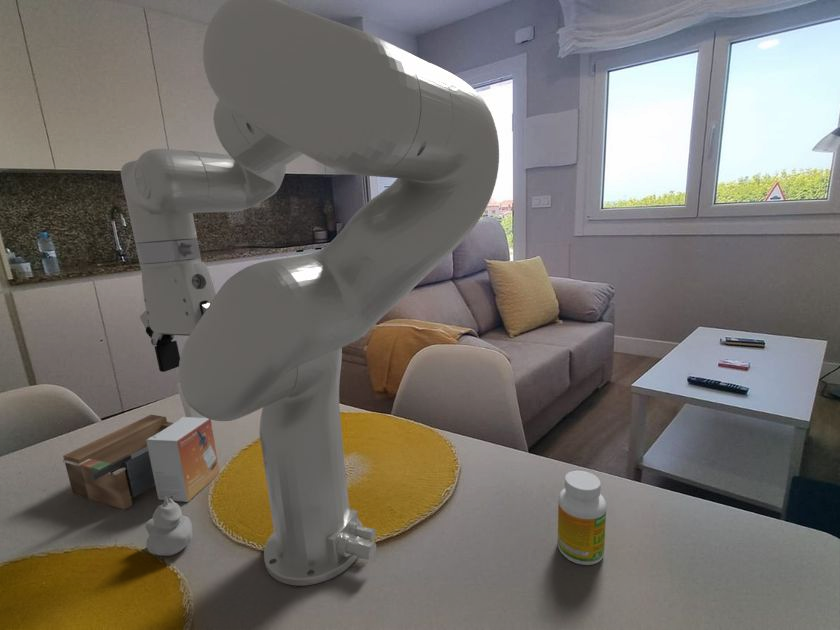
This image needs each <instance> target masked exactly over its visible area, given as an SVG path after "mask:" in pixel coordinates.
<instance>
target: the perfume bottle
mask: <svg viewBox="0 0 840 630" xmlns="http://www.w3.org/2000/svg"><path fill="white" fill-rule="evenodd" d="M176 386H177V391H178V394H179V398H180V402H181V405H182V407H183V411H184V414H185V416H184V417H194V418H205V417H204V416H202V415H200V414H199V413H197V412H196V411H195V410H194V409H193V408H192V407H191V406H190V405H189V404H188V402H187V401H186V399H185V397H184V395H183V393H182V390H181V386H180V382H177V383H176Z"/></svg>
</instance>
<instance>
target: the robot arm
mask: <svg viewBox="0 0 840 630" xmlns="http://www.w3.org/2000/svg"><path fill="white" fill-rule="evenodd" d="M202 48H203V49H202V55H203V56H202V60H203V65H204V66H203V67H204V72H205V75H206V78H207V81H208V84H209V86H210V88H211V89H212V91H213V92H214V94H215V96H216V97H217V99H218V101H217V102H216V104H215V107H214V111H213V125H214V129H215V133H216V137H217V139H218V141H219V142H220V144H221V146H222V147H223V148H224V149H223V150H225V151H226V153H228V154H224V153H215V152H208V151H194V150H183V149H171V148H152V149H149V150H147V151H145V152H143V153H142V154H140V156H139V157H138V159H135V160H131V161H128V162H126V163H124V164H123V166H122V167H121V169H120V177H121V183H122V187H123V191H124V196H125V201H126V205H127V212H128V215H129V219H130V225H131V228H132V229H131V230H132V234H133V238H134V242H135V248H136V253H137V257H138V261H139V262H138V263H139V266H140V269H141V283H142V293H143V300H144V306H145V311H143V312H142V314H141V315H140V317H139V318H140V320H141V322H142V325H143V326H144V328H145V332H146V334H147V335H148V337H149V338H150V343H151V345H152V346H153V347H154V352H155V355H156V356H155V357H156V360H157V365H158V370H159V372H163V373H165V372H168V371H171V370H173V369H177V368H178V381H179V382H180V386H181V390H182V393H183V395H184V397H185V399H186V401H187V402H188V404H189V405H190V406H191V407H192V408H193V409H194V410H195V411H196V412H197V413H199V414H200V415H202V416H204V417H205V418H208V419H211V421H214V422H215V421H216V422H229V421H230V422H231V421H235V420H238V419H241V418H243V417H245V416H248V415H250V414H252V413H254V412H256V411H259V410H261V409H262V410H261V415H260V420H259V440H260V447H261V453H262V460H263V467H264V472H265V479H266V480H265V482H266V488H267V494H268V495H267V496H268V501H269V507H270V513H271V521H272V528H273V532H272V533H271V535H270V536H269V537H268V539H267V540H266V543H265V546H264V548H263V549H264V550H263V558H264V559H263V560H264V564H265V565H264V566H265V568H266V571H267V572H268V574H269V575H270V576H271V577H272V578H273V579H275V580H276V581H278V582H280V583H282V584H285V585H286V584H287V585H291V586H311V585H316V584H319V583H320V584H321V583H323V582H326V581H328V580H329V581H330V580H331V579H333V578H335V577H337V576H338V575H340V574H342V573H344V571H346V570H347V569H348V568H349V567H351V566H352V565H353V564H354V562H355V561H357V560H358V558H359V559H362V560H366V561H373V559H374V558H375V556H376V552H377V543H376V542H374V541H375V538H376V537H377V536H376V535H377V530H376V529H375V528H373V527H372V528H371V527H367V526H363V523H362V522H361V520H360V519H359V518H358V510H357V509H351V508H350V501H349V493H348V482H347V474H346V472H347V471H346V462H345V453H344V443H343V434H342V433H343V431H342V423H341V422H342V421H341V411H340V410H341V409H340V380H341V379H340V378H341V369H342V358H343V357H342V356H343V353H342V352H343V351H342V349H343V348H344V347H346V346H348V345H350V344H352V343H354V342H357V341H358V340H359V339H361V338H362V337H363V336H365V335H366V334H367V333H368V332H369V331H371V329H372V328H373V327H374V326H376V324H377V323H378V322H379V321H380V320H381V319H382V318H383V317H384V316H386V315H387V314H388V312H390V311H391V310H392V309H393V308H394V307H396V305H397V304H399V302H401V301H402V300H403V299H404V298H406V297H407V295H409V294H410V292H412V290H414V288H415V287H416V286H417V285H418V284H420V282H421V281H422V280H424V279H425V277H427V276H428V275H429V274H430V273H431V272H432V271H433V270H435V269H436V267H438V266H439V265H440V264H441V263H442V262H443V261H444V260H445V259H447V258H448V256H449V255H451V254H452V253H453V252H454V251H455V249H457V248H458V247H459V246H460V245H461V243H462V242H463V241H464V240H465V239H466V238H467V237H468V236H469V234H470V233H471V232H472V231H473V229H474V228H475V227H476V225H477V224H478V223H479V221H480V220H481V218H482V216H483V215H484V213H485V210H486V209H487V207H488V205H489V202H490V201H491V199H492V195H493V193H494V190H495V186H496V184H497V183H496V182H497V179H498V174H499V165H500V145H499V136H498V130H497V127H496V123H495V120H494V118H493V115H492V112H491V111H490V109H489V107H488V105H487V103H486V102H485V100H484V99H483V97H482V96H481V95H480V94H479V92H477V91H476V90H475V89H474V88H473V87H472V86H471V85H470V84H468V83H467V82H466V81H465V80H463V79H461V78H460V77H459V76H457V75H455V74H453V73H452V72H449V71H448V70H446V69H444V68H442V67H440V66H437V65H436V64H434V63H431V62H430V61H427V60H426V59H425V60H424V59H422V58H420V57H418V56H416V55H414V54H412V53H410V52H409V51H407V50H404V49H402V48H400V47H398V46H397V45H395V44H393V43H390V42H388V41H385V40H384V39H382V38H379V37H377V36H376V35H375V36H374V35H373V34H370V33H368V32H365V31H362V30H360V29H358V28H354V27H353V26H349V25H346V24H344V23H341V22H338V21H335V20H332V19H331V18H327V17H324V16H321V15H318V14H316V13H314V12H311V11H307V10H306V9H305V10H304V9H302V8H299V7H296V6H294V5H291V4H288V3H287V2H285V1H282V0H226V1H225V2H224V3H223V4H222V5H221V4H220V6H219V8H217V10H216V12H214V15H213V16H212V17H211V19H210V21H209V23H208V26H207V28H206V31H205V34H204V40H203V46H202ZM302 155H304V156H306V157H308V158H310V159H312V160H314V161H316V162H318V163H319V164H322V165H324V166H326V167H327V168H330V169H333V170H336V171H339V172H343V173H346V174H349V175H358V176H364V177H376V178H377V177H379V178H391V179H392V178H393V179H395V181H393V182H392V184H390V185H389V186H388V187H387V188H385V189H384V190H383V191H382V192H380V193H379V194H377V195H376V196H374V197H373V198H371V199H370V200H368V201H367V202H366V203H365V204H364V205H363V206H362V207H360V208H359V209H358V210H357V211H356V212H355V213H354V214H353V215H352V216H351V217H350V219H349V220H348V222H347V223H346V225H345V226H344V227H343V229H341V230H340V232H339V233H338V234H337V235H336V236H335V237H334V238H333V239H332V240H331V241H330V242H329V243H328V244H327V245H326V246H324V248H322V249H320V250H318V251H315V252H312V253H308V254H303V255H298V256H297V255H296V256H292V257H285V258H279V259H278V258H277V259H270V260H265V261H261V262H257V263H254V264H251V265H248V266H246V267H245V268H242V269H240V270H239V271H238V272H236V273H234V274H233V275H232V276H230V277H229V278H228V279H227V280H226V281H225V282H224V283H223V284H222V286H221V287H220V288H219V290H218V291H217V293H216V289H215V286H214V283H213V280H212V277H211V275H210V272H209V269H208V267H207V264H206V262H205V261H202V259H201V258H202V257H201V252H200V248H199V246H200V245H199V241H198V234H197V229H196V224H195V220H194V214H197V213H198V214H199V213H200V214H201V213H235V212H241V211H245V210H248V209H250V208H252V207H255V206H257V205H259V204H260V203H262V202H264V201H265V200H267V199H268V198H270V197H272V196H274V195H275V194H276V193H277V192H278V190H279V189H280V188H281V186H282V183H283V180H284V177H285V174H286V170H287V164H289V163H291V162H293V161H294V160H296V159H298V158H299V157H301V156H302ZM175 336H182V337H183V336H184V337H185V336H187V339H186V341H185V343H184V345H183V348H182V351H181V354H180V351H179V346H178V341H177V340H174V338H175Z"/></svg>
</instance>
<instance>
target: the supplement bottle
mask: <svg viewBox="0 0 840 630" xmlns="http://www.w3.org/2000/svg"><path fill="white" fill-rule="evenodd" d="M601 483H602V482H601V480H600V479H599V477H597V476H596V475H595V474H593V473H591V472H589V471H586V470H585V471H584V470H572V471H569V472H567V473H566V474H565V476H564V488H563V489H562V490H561V491H560V493H559V495H558V507H557V510H558V511H557V513H558V514H557V547H558V549H559V552H560V553H561V554H562V555H563V556H564V558H566V559H567V560H568V561H570V562H573V563H575V564H577V565H583V566H590V565H595V564H598V563H599V562H600V561H602V559H603V558H604V556H605V555H604V554H605V540H606V538H605V537H606V523H607V521H606V520H607V502H606V499H605V497H604V496H603V494H601V489H602V488H601Z"/></svg>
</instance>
